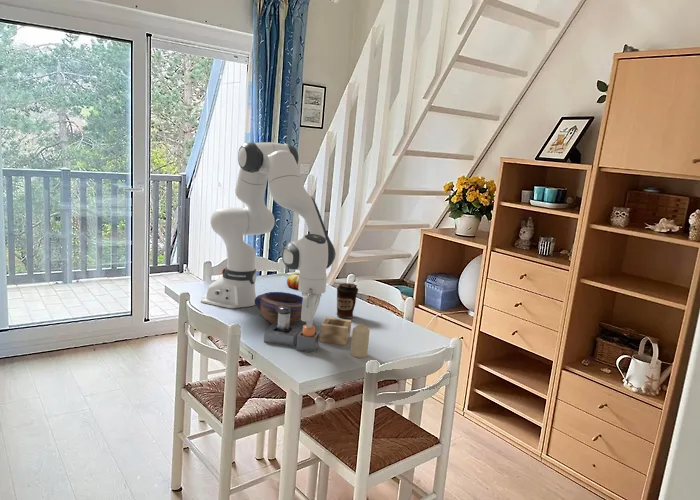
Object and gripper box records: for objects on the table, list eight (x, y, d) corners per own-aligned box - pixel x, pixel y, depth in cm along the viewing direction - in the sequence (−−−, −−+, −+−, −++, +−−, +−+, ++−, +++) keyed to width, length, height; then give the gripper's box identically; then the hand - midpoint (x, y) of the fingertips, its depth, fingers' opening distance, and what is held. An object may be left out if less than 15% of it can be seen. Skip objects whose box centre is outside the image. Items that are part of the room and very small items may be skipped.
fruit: (285, 288, 242) (286, 271, 243) (287, 289, 252) (288, 272, 253) (310, 290, 242) (311, 272, 243) (311, 290, 252) (312, 274, 253)
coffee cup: (353, 321, 206) (356, 289, 203) (332, 318, 207) (335, 286, 205) (357, 314, 214) (360, 283, 212) (337, 311, 216) (340, 281, 213)
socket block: (263, 341, 177) (264, 332, 176) (272, 332, 187) (273, 322, 186) (292, 346, 175) (293, 336, 175) (300, 336, 185) (301, 326, 184)
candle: (349, 350, 176) (352, 322, 174) (366, 351, 176) (369, 323, 174) (351, 357, 170) (353, 327, 168) (368, 358, 171) (371, 328, 169)
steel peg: (274, 340, 179) (276, 309, 177) (278, 336, 183) (280, 305, 181) (286, 341, 179) (288, 310, 177) (290, 337, 183) (292, 307, 181)
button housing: (296, 350, 172) (297, 335, 171) (301, 343, 178) (302, 329, 177) (314, 352, 171) (315, 338, 170) (318, 346, 177) (319, 332, 176)
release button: (300, 340, 172) (301, 327, 172) (303, 336, 176) (304, 323, 175) (312, 342, 172) (313, 329, 171) (315, 338, 176) (316, 325, 175)
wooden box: (319, 341, 182) (321, 324, 180) (325, 332, 190) (326, 317, 189) (345, 345, 180) (347, 328, 179) (350, 336, 189) (351, 320, 188)
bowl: (316, 324, 198) (318, 299, 196) (277, 333, 186) (279, 306, 184) (287, 311, 211) (288, 287, 209) (248, 319, 198) (250, 293, 196)
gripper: (318, 294, 160) (315, 338, 163) (325, 278, 180) (322, 317, 183) (297, 292, 160) (295, 336, 163) (306, 277, 180) (303, 316, 183)
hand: (309, 326), depth 173 cm, fingers closed
